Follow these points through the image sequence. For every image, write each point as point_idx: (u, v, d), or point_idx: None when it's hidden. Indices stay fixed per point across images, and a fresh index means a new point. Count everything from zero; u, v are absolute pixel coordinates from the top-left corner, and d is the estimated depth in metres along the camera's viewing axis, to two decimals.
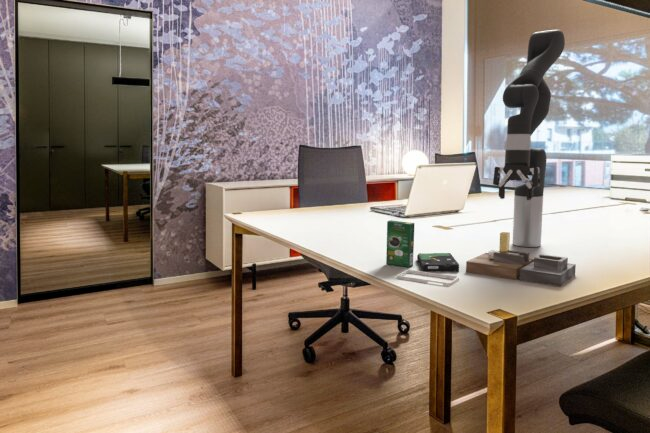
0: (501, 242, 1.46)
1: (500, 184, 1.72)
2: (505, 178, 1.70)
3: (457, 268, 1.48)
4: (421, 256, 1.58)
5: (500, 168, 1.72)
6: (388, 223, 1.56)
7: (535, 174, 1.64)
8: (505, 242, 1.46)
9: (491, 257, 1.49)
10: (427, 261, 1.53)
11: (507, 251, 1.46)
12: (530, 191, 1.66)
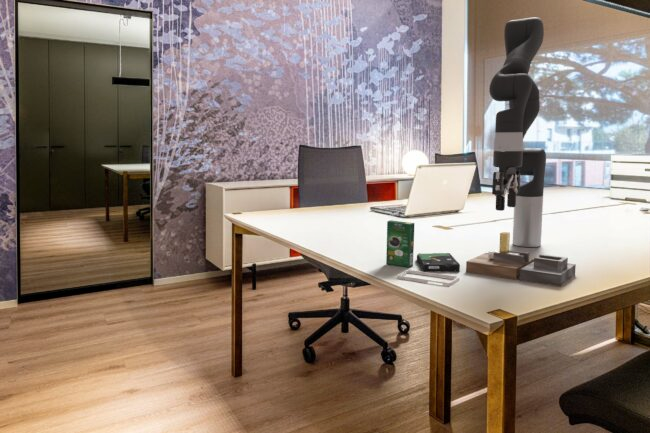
0: (501, 242, 1.46)
1: (504, 193, 1.40)
2: (509, 185, 1.41)
3: (458, 268, 1.48)
4: (421, 256, 1.58)
5: None
6: (388, 223, 1.56)
7: (519, 177, 1.48)
8: (505, 242, 1.46)
9: (491, 257, 1.49)
10: (427, 261, 1.53)
11: (507, 251, 1.46)
12: None
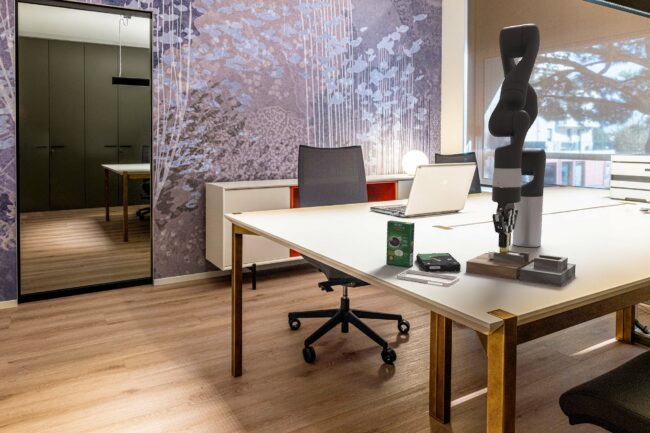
0: None
1: (507, 231, 1.44)
2: (509, 222, 1.44)
3: (459, 268, 1.48)
4: (421, 256, 1.58)
5: (500, 214, 1.42)
6: (388, 223, 1.56)
7: (516, 216, 1.49)
8: None
9: (491, 257, 1.49)
10: (428, 261, 1.53)
11: (507, 251, 1.46)
12: None
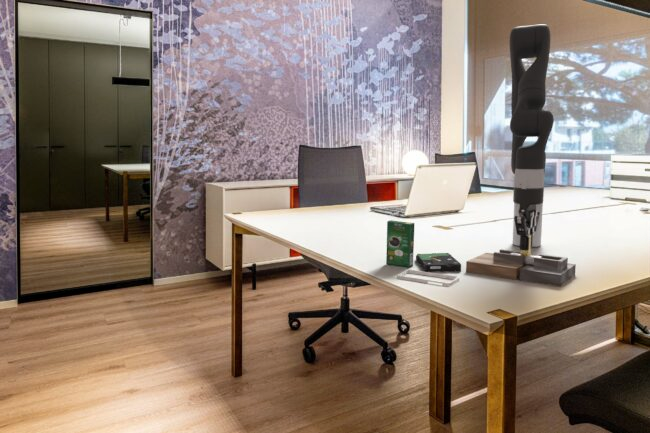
0: None
1: (529, 233, 1.41)
2: (531, 224, 1.40)
3: (459, 268, 1.48)
4: (421, 256, 1.58)
5: (522, 216, 1.38)
6: (388, 223, 1.56)
7: (537, 218, 1.45)
8: None
9: None
10: (428, 261, 1.53)
11: (529, 254, 1.43)
12: (531, 238, 1.44)
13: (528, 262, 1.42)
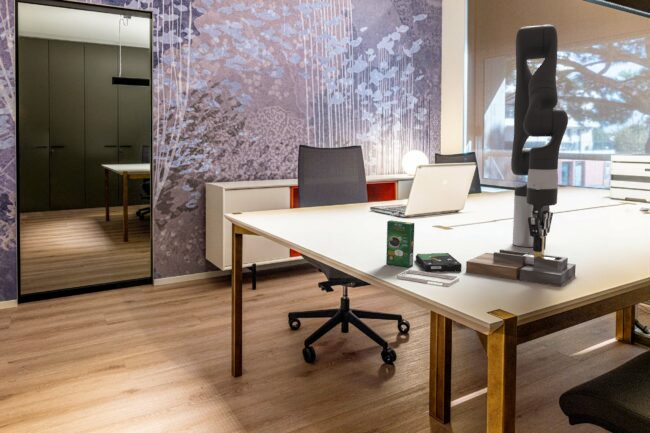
0: None
1: (542, 235, 1.38)
2: (545, 225, 1.38)
3: (460, 268, 1.48)
4: (421, 256, 1.58)
5: (536, 217, 1.36)
6: (388, 223, 1.56)
7: (550, 219, 1.43)
8: None
9: (525, 262, 1.43)
10: (428, 261, 1.53)
11: (542, 255, 1.41)
12: None
13: None
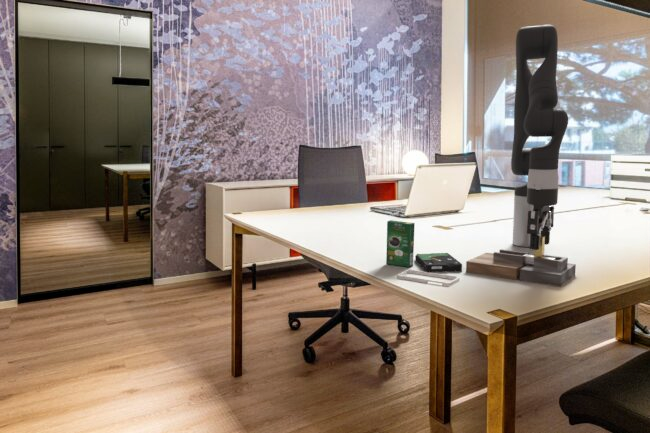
0: None
1: (539, 232, 1.36)
2: (544, 224, 1.37)
3: (460, 268, 1.48)
4: (421, 256, 1.58)
5: None
6: (388, 223, 1.56)
7: (552, 213, 1.44)
8: (540, 246, 1.40)
9: (525, 262, 1.43)
10: (429, 261, 1.53)
11: (542, 255, 1.41)
12: None
13: None
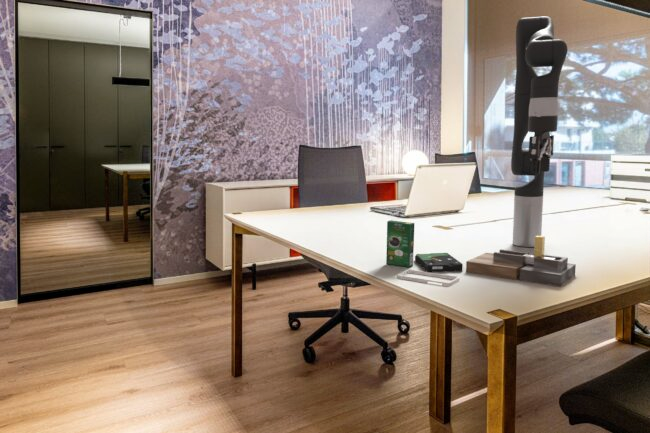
0: (536, 246, 1.41)
1: (540, 157, 1.45)
2: (544, 149, 1.45)
3: (461, 268, 1.48)
4: (421, 257, 1.58)
5: None
6: (388, 223, 1.56)
7: (552, 142, 1.52)
8: (540, 246, 1.40)
9: (525, 262, 1.43)
10: (429, 261, 1.53)
11: (542, 255, 1.41)
12: None
13: None
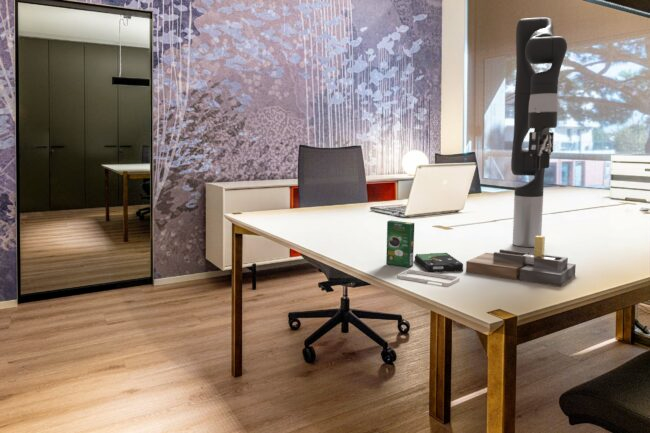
0: (536, 246, 1.41)
1: (540, 153, 1.45)
2: (544, 145, 1.46)
3: (461, 267, 1.48)
4: (420, 257, 1.58)
5: None
6: (388, 223, 1.56)
7: (552, 139, 1.53)
8: (540, 246, 1.40)
9: (525, 262, 1.43)
10: (429, 262, 1.52)
11: (542, 255, 1.41)
12: None
13: None
